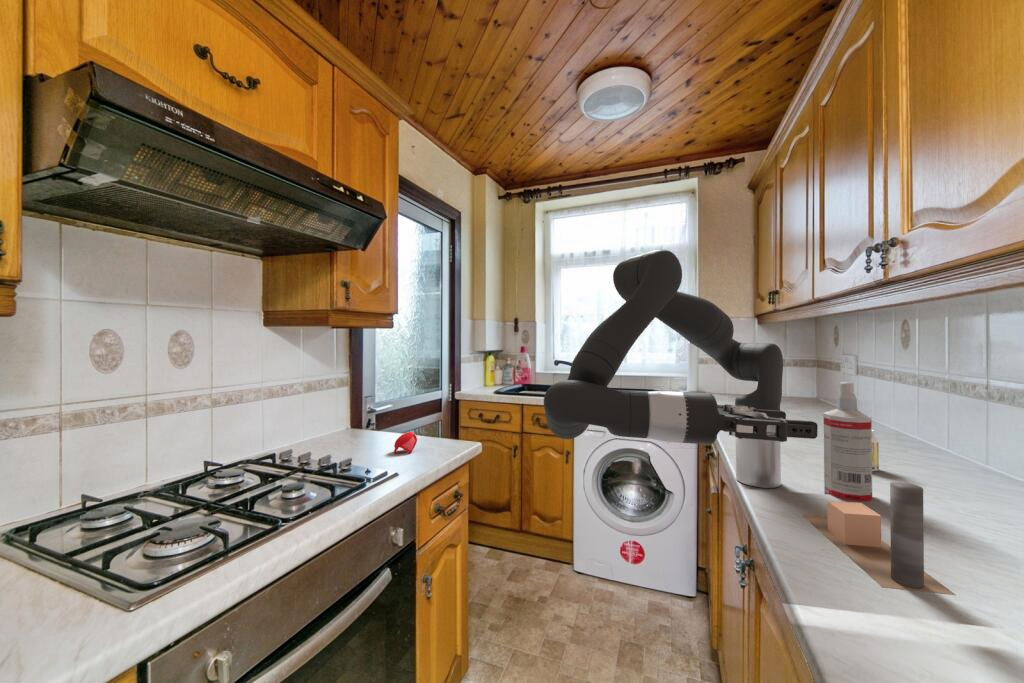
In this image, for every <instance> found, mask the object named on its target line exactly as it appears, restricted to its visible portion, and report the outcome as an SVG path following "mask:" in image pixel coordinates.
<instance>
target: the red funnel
mask: <svg viewBox="0 0 1024 683" xmlns="http://www.w3.org/2000/svg"><path fill="white" fill-rule="evenodd" d="M417 443H418V437H417V435H416V434H415V433H414V432H412V431H411V432H410V431H408V432H404V433H402V434H401V435H400V436H399V437H397V439H396V440H395V442H394V445H393V447H394V450H393V454H395V453H396V452H397V451H398V450H399V448H400V449H402V450H404V451H406V452H408V453H409V454H412V453H413V451H414V449H415V447H416V445H417Z"/></svg>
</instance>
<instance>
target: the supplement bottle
mask: <svg viewBox="0 0 1024 683" xmlns="http://www.w3.org/2000/svg"><path fill="white" fill-rule="evenodd" d="M879 450H880V448H879V439H878V438H877V437H875V429H872V472H877V471H878V470H880V467H879V466H880V465H879V461H880V460H879V459H880V458H879V457H880V456H879V454H880V453H879Z"/></svg>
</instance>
